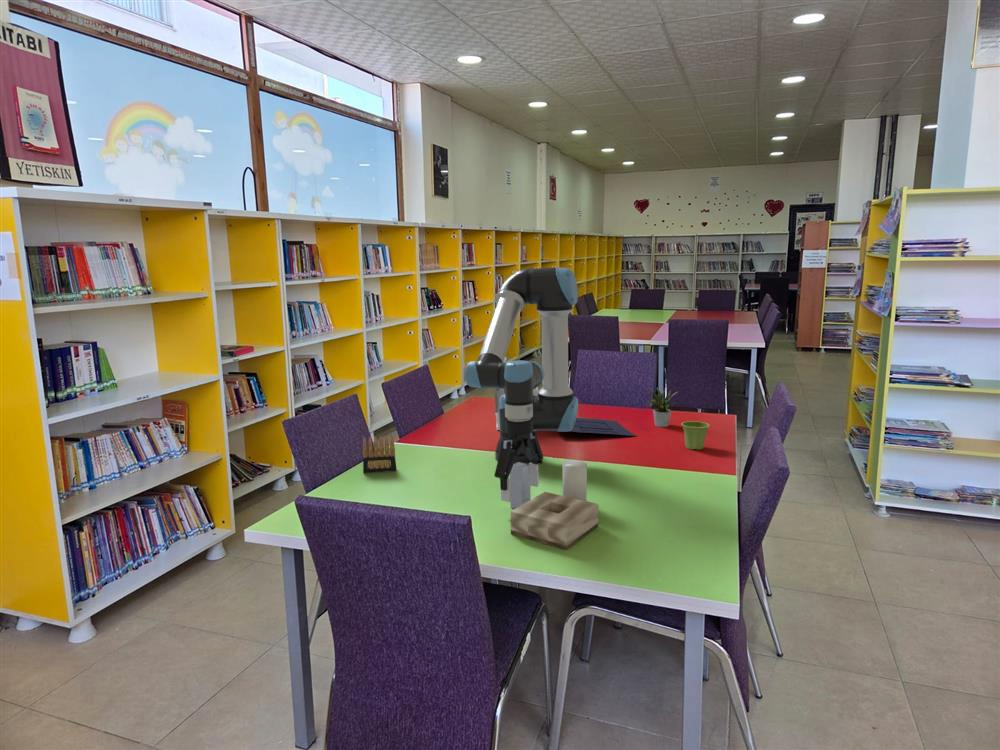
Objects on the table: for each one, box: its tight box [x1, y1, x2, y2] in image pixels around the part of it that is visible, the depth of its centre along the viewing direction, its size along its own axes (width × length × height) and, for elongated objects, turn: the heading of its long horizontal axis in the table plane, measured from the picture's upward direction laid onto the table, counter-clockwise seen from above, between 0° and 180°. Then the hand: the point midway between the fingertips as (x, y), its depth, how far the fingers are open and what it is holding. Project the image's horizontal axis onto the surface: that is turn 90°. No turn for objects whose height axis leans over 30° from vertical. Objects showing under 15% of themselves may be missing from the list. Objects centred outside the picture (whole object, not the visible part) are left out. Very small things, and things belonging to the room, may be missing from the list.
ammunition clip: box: [362, 434, 397, 474], centre depth 206 cm, size 11×2×12 cm, turn 97°
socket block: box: [510, 491, 600, 551], centre depth 158 cm, size 16×16×6 cm
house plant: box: [645, 386, 680, 428], centre depth 256 cm, size 14×14×16 cm
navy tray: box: [570, 417, 637, 437], centre depth 250 cm, size 24×30×4 cm
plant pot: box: [681, 420, 710, 451], centre depth 225 cm, size 9×9×9 cm
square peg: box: [509, 462, 532, 509], centre depth 173 cm, size 4×4×12 cm
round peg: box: [562, 459, 588, 502], centre depth 173 cm, size 7×7×12 cm
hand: (520, 493), depth 173 cm, fingers open, 13 cm apart
